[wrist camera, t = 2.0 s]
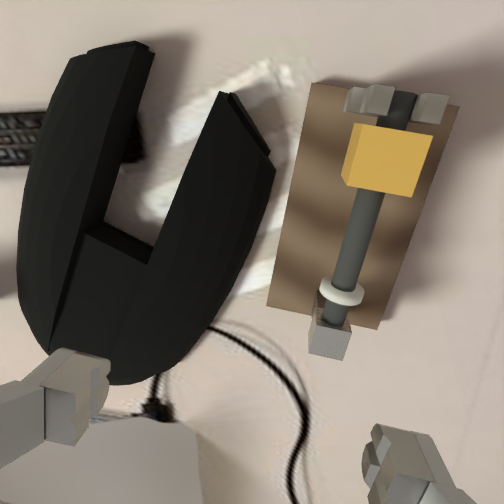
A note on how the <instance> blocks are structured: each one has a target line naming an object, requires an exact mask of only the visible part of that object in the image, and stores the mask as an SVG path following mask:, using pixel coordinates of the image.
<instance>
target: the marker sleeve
mask: <svg viewBox="0 0 504 504" xmlns="http://www.w3.org/2000/svg"><path fill="white" fill-rule="evenodd" d="M432 138H433V136H431V135H425V134H419V133H413V132H407V131H401V130H395V129H390V128H384V127H378V126H372V125H366V124H359V123H354V126H353V130H352V134H351V138H350V141H349V145H348V149H347V153H346V157H345V161H344V165H343V168H342V172H341V176H342V178H343V180H344V182H345V183H346V185H347V186H352V187H358V188H363V189H368V190H374V191H379V192H385V193H390V194H395V195H401V196H406V197H412V195H413V192H414V189H415V186H416V184H417V181H418V178H419V175H420V172H421V169H422V167H423V164H424V161H425V158H426V155H427V152H428V149H429V147H430V144H431V141H432Z"/></svg>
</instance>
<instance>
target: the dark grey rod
mask: <svg viewBox="0 0 504 504" xmlns="http://www.w3.org/2000/svg"><path fill="white" fill-rule="evenodd" d="M416 96H417V94H414V93H410V92H404V91H397V90H394V93H393V97H392V100H391V103H390V107H389V110H388V114H387V116H378V119H377V122H376V126H378V127H384V128H390V129H395V130H401V131H405V130H406V127H407V124H408V121H409V118H410V115H411V111H412V108H413V105H414V102H415V99H416ZM384 196H385V192H379V191H374V190H368V189H363V188H358V189H357V193H356V196H355V200H354V203H353V207H352V211H351V214H350V218H349V221H348V225H347V228H346V232H345V235H344V239H343V242H342V246H341V249H340V253H339V256H338V260H337V263H336V267H335V270H334V274H333V276H326V277H324V278H323V279H322V281H321V285H320V288H319V290H320V293H321V294H322V295H323V296H324V297H325V298H327V299H326V302H325V306H324V309H323V313H322V319H323V320H324V321H325V322H326V323H328V324H330V325H333V326H342V325H343V324H344V322H345V319H346V315H347V312H348V309H349V306H354V305H358V304H360V303H361V301H362V298H363V295H364V289H363V287H362V286H361V285H359V284H358V283H357V281H358V278H359V275H360V271H361V268H362V265H363V262H364V259H365V256H366V253H367V249H368V246H369V243H370V240H371V237H372V234H373V231H374V228H375V224H376V221H377V218H378V215H379V212H380V209H381V206H382V202H383V199H384Z"/></svg>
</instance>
